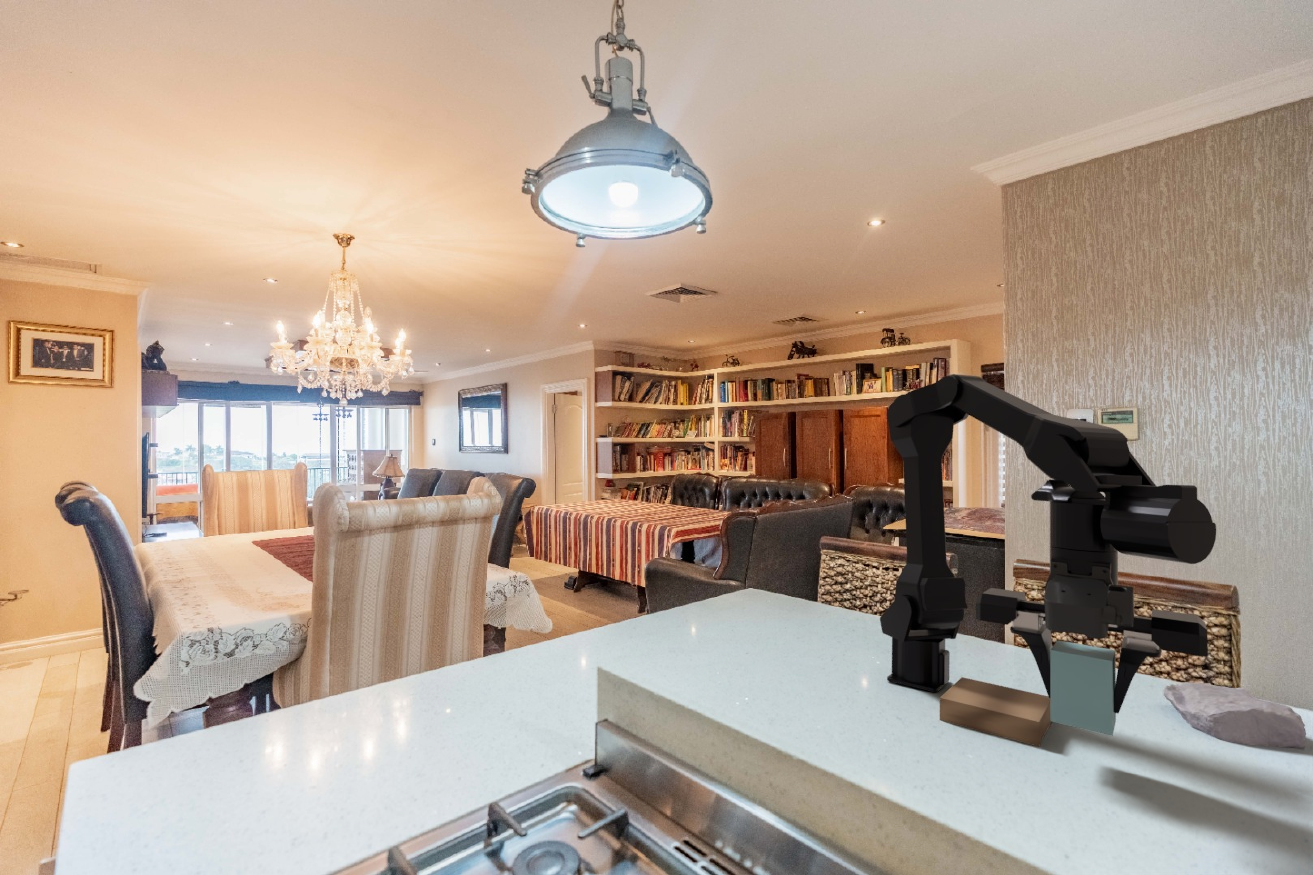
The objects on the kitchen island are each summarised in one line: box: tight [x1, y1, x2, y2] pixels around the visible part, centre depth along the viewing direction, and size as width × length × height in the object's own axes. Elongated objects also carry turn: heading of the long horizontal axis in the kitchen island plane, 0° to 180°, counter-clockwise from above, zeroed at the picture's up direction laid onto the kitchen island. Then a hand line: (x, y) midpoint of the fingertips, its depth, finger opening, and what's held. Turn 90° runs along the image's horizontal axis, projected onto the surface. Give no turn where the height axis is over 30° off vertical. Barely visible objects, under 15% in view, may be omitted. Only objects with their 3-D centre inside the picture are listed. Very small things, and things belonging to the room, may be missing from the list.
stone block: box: [1163, 681, 1307, 749], centre depth 74 cm, size 12×5×10 cm
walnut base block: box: [939, 676, 1052, 747], centre depth 73 cm, size 10×10×3 cm
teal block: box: [1050, 639, 1117, 737], centre depth 62 cm, size 5×5×7 cm
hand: (1083, 704), depth 62 cm, fingers closed on teal block, 5 cm apart
